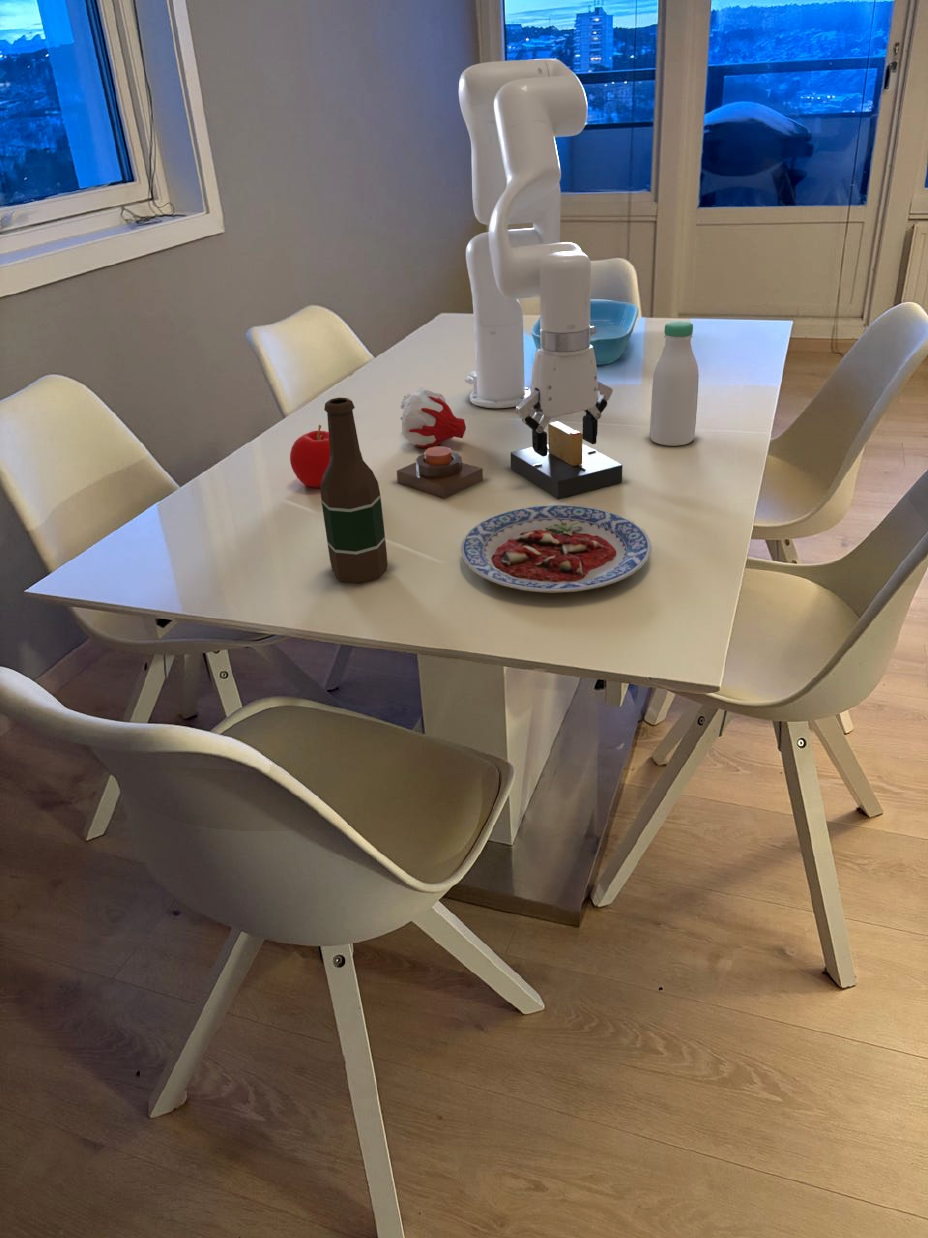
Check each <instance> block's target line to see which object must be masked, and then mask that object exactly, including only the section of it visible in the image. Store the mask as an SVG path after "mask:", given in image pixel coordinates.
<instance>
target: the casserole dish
mask: <svg viewBox="0 0 928 1238" xmlns="http://www.w3.org/2000/svg"><path fill="white" fill-rule="evenodd" d="M638 315H639V307H638V306H637V304H634V303H631V302H626V301H618V300H610V299H600V298H597V299H595V298H594V299H593V298H591V302H590V325H591V327H593V326H594V327H595V328H596V334H595V335H593V336H591V342H590V345H592V346H593V349H594V354H595V359H596V366H602V365H609V364H612V363H614V362H615V361H617V360H618V359H619V358H621V357H622V355H623V354H624V353H625V351H626V349H627V347H628V345H629V342H630V340H631V337H632V334H633V331H634V328H635V324H636V321H637V319H638ZM530 334H531V336H532V339H533V343H534V345H535V348H536V349H535V350H538V349H541V347H540V346H541V344H540V316H539V317H538V319H537V320H536V321H535V323H534V324H533V325H532V327H531V329H530Z"/></svg>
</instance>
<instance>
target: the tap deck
mask: <svg viewBox="0 0 928 1238" xmlns="http://www.w3.org/2000/svg"><path fill="white" fill-rule="evenodd" d="M509 453H510V454H509V455H510V470H512V471H513V472H515V473H516V474H518V475H519V476H521V477H523V478H524V479H526V480H527V481H529V482H530V483H532V484H534V485H535V486H536V487H538V488H540V489H541V490H542V491H544V492H546V493H547V494H549V495H551V496H553V497H554V498H555V499H557V500H562V499H564V498H569V497H572V496H576V495H579V494H583V493H587V492H591V491H594V490H598V489H603V488H605V487H609V486H610V487H611V486H614V485H617V484H621V483H623V464H622V463H620V462H618V461H616V460H614V459H612V458H611V457H609V456H607V455H605V454H603V453H602V452H600V451H597V450H596V449H594V448H592V447H590V446H588V445H586V444H585V443H583V442H582V464H580V465H576V466H572V465H570V464H568V463H566V462H565V461H563V460H561V459H560V458H558V457H556V456H554V455H553V454H551V453H549V446H548V442H547V455H546V456H544V457H543V456H541V455H539V454H538V453H536V452H534V449H533V447H532V446H531V447H527V448H522V449H518V450H514V451H510V452H509Z"/></svg>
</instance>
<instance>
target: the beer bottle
mask: <svg viewBox="0 0 928 1238" xmlns="http://www.w3.org/2000/svg"><path fill="white" fill-rule="evenodd" d="M355 408H356V407H355V405H354V402H353V400H352V399H350V398H348V397H334V398H331V399H329V400H327V401H326V402H325V403H324V409H323V411H325V412H326V414H327V428H328V429H327V430H328V431H327V432H329V445H330V461H329V465H328V467H327V469H326V471H325V472H324V474H323V477H322V482H321V486H320V488H319V489H320V500H321V501H320V502H321V508H322V516H323V522H324V529H325V533H326V534H325V535H326V542H327V550H328V556H329V562H330V567H331V571H332V572H333V574H334V575H335V576H336V577H337V578H338V579H339V580H340V582H345V583H353V584H354V583H355V584H362V583H366V582H369V581H373V580H376V579H379V578H380V577H381V576H382V575H383V574H384V572H385V571H386V570H387V568H388V551H387V543H386V542H387V541H386V534H385V525H384V524H385V523H384V516H383V515H384V514H383V507H382V506H383V505H382V498H381V491H380V486H379V485H380V484H379V481H378V479H377V477H376V475H375V473H374V471H373V470H372V469H371V467H369V465H368V464H367V463H366V462H365V461H364V459H363V456H362V452H361V449H360V448H361V447H360V444H359V438H358V432H357V427H356V422H355V417H354V416H355V415H354V412H353V411H354V410H355Z"/></svg>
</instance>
